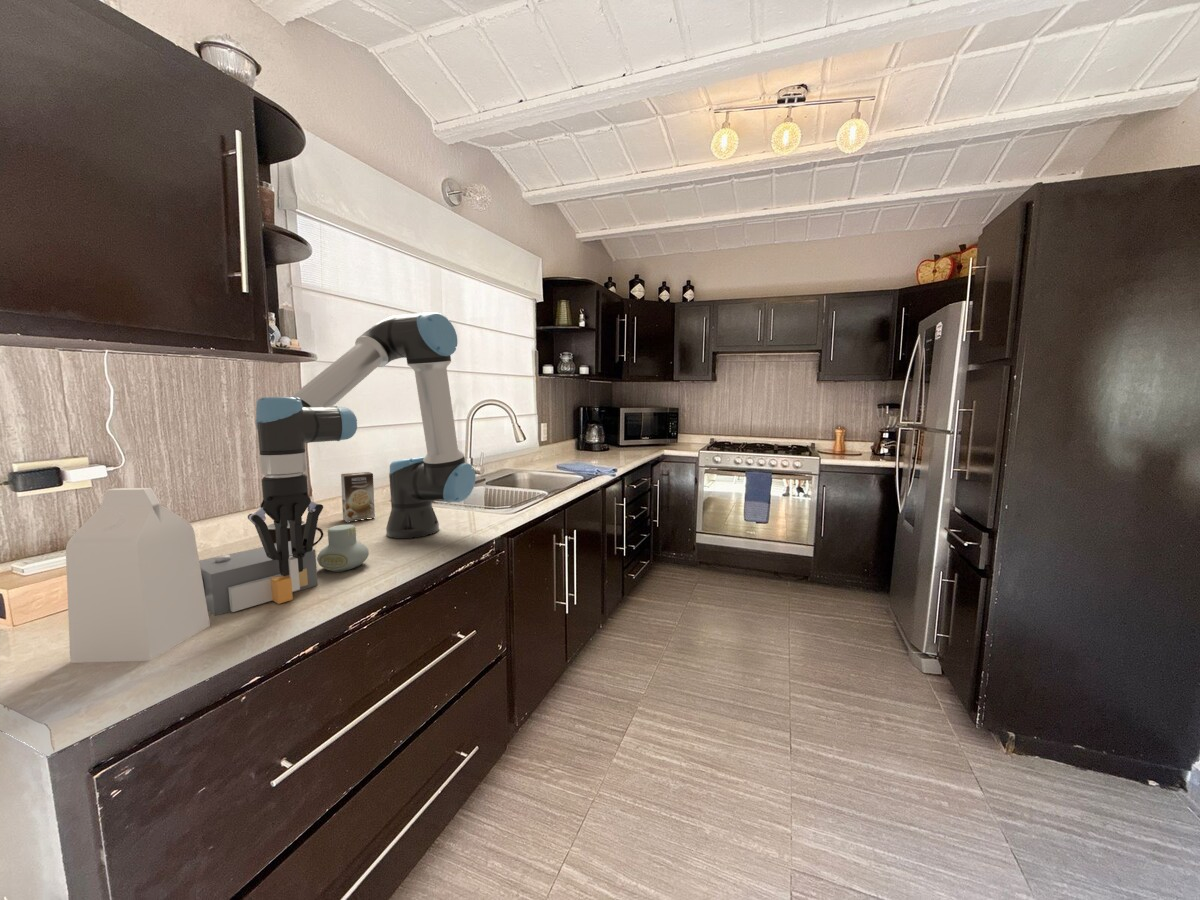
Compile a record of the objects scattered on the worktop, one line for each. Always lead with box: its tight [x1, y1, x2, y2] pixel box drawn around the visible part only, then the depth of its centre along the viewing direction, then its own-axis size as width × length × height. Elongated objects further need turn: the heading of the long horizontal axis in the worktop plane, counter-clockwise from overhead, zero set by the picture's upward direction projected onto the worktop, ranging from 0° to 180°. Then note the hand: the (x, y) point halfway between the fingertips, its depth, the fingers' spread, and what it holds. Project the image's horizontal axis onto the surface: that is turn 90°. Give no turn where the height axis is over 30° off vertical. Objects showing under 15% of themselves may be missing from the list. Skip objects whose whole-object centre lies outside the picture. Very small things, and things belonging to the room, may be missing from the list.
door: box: [228, 574, 294, 613], centre depth 91 cm, size 9×4×4 cm, turn 144°
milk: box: [65, 487, 211, 664], centre depth 76 cm, size 12×12×26 cm
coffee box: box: [340, 471, 376, 523], centre depth 161 cm, size 9×6×16 cm
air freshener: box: [316, 524, 370, 573], centre depth 113 cm, size 11×8×10 cm
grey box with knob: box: [199, 541, 319, 616], centre depth 97 cm, size 20×12×9 cm, turn 144°
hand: (293, 589), depth 95 cm, fingers closed
